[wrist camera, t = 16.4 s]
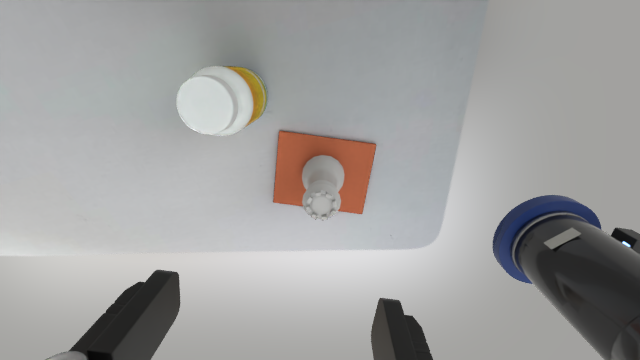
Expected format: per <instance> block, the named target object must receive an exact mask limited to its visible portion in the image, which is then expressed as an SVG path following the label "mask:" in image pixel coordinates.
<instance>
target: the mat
mask: <svg viewBox="0 0 640 360" xmlns="http://www.w3.org/2000/svg"><path fill="white" fill-rule="evenodd" d="M375 149H376V144H373V143H365V142H358V141H351V140H344V139H336V138H329V137H322V136H314V135H307V134H300V133H293V132H285V131H279V140H278V152H277V164H276V176H275V188H274V200H273V202H275V203H282V204H290V205H297V206H303V203H302V200H303V195H304V193H305V192H306V189H305V187H304V185H303V181H302V173H303V168H304V166H305V165H306V163H307V161H309V160H310V159H312V158H313V157H316V156H320V155H326V156H331V157H333V158H334V159H336V160H338V161H339V163H340V164H341V165H342V167H343V170H344V182H343V186H342V187H341V189H340V190H339V192H338V193H339V194H340V199H341V205H340V209H339V210H338V211H342V212H350V213H357V214H362V212H363V207H364V203H365V198H366V193H367V188H368V183H369V178H370V173H371V168H372V163H373V159H374V154H375Z"/></svg>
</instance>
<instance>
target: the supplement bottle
mask: <svg viewBox="0 0 640 360" xmlns="http://www.w3.org/2000/svg"><path fill="white" fill-rule="evenodd" d="M267 100H268V94H267V89H266V86H265V84H264V82H263V80H262V79H261V78H260V77H259V76H258V75H257V74H256V73H255V72H253V71H251V70H249V69H247V68H243V67H231V66H209V67H205V68H202V69H200V70H198V71H197V72H196V73H194V74H193V75H192V76H191V78H190V79H188V80H186V81H185V82H184V83H183V84H182V85H181V87H180V88H179V90H178V93H177V97H176V106H177V110H178V113H179V115H180V117H181V119H182V120H183V122H184V123H185V124H186V125H187V126H188V127H189V128H191V129H192V130H194V131H196V132H198V133H201V134H206V135H215V136H229V135H233V134H235V133H237V132H239V131H241V130H242V129H243V128H245V127H246V126H248V125H249V124H251V123H252V122H254V121H255V120H257V119H258V118H259V117H260V116H261V115H262V114H263V112H264V111H265V108H266V105H267Z"/></svg>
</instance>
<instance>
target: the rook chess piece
mask: <svg viewBox="0 0 640 360" xmlns="http://www.w3.org/2000/svg"><path fill="white" fill-rule="evenodd" d="M302 181H303V185H304V187H305V189H306V192H305V193H304V195H303V200H302V203H303V207H304V209H305V211H306V212H307V213H308V214H309V215H310V216H311V217H312V218H314V219H316V218H318V219H322V220H327V219H328V218H330V217H331V216H333V215H335V214H336V213H337V211H338V210H339V209H340V205H341V199H340V194H339V193H338V192H339V190H340V189H341V187H342V186H343V182H344V170H343V167H342V165H341V164H340V163H339V161H338V160H336V159H334V158H333V157H331V156H326V155H320V156H316V157H313V158H312V159H310V160H309V161H307V163H306V165H305V166H304V168H303V173H302Z"/></svg>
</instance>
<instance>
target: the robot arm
mask: <svg viewBox="0 0 640 360" xmlns="http://www.w3.org/2000/svg"><path fill="white" fill-rule="evenodd" d="M510 256H511V260H512V262H513V264H514V265H515V266H516V268H517V269H518V270H519V271H520V272H521V273H523V274H524V275H525V276H526V277H527V278H528V279H529V280H530V281H531V282H532V283H533V284H534V285H535V287H536V288H537V289H538V290H539V291H540V292H541V293H542V294H543V295H544V296H545V297H546V298H547V299H548V300H549V301H550V303H551V304H552V305H553V306H554V307H555V308H556V309H557V310H558V311H559V312H560V313H561V314H562V315H563V316H564V317H565V319H566V320H567V321H568V322H569V323H570V324H571V325H572V326H573V327H574V328H575V329H576V330H577V331H578V332H579V333H580V334H581V335H582V337H583V338H584V339H585V340H586V341H587V342H588V343H589V344H590V345H591V346H592V347H593V348H594V349H595V350H596V351H597V352H598V353H599V354H600V356H601V357H602V358H603V359H604V360H640V234H638V233H637V232H635V231H633V230H628V229H622V228H615V229H614V231H613V233H612V235H611V236H610V235H609V234H607V233H606V232H604V231H602V230H601V229H599V228H597V227H596V226H594V225H592V224H591V223H589V222H588V221H587V220H585V219H584V218H582V217H581V216H579V215H577V214H575V213H572V212H568V211H552V212H547V213H544V214H541V215H538V216H536V217H534V218H532V219H531V220H529V221H528V222H526V223H525V224H524V225H523V226H522V227H521V228H520V229H519V230H518V231H517V233H516V234H515V236H514V238H513V240H512V242H511V246H510ZM179 308H180V289H179V275H178V273H177V272H172V271H164V270H156V271H155V272H154V273H153V274H152V275H151V276H150V277H149V278H148V280H147V281H146V282H138V283H136V284H135V285H133V286H131V287H130V288H128V289H127V290H125V291H124V292H123V293H122V294H121V295H120V296H119V297H118V298H117V300H116V301H115V303H114V304H112V305H111V306H110V307H109V308H108V309H107V310H106V313H104V314H103V315H102V316H101V317H100V318H99V319H98V320H97V321H96V322H95V324H93V326H92V327H91V328H90V329H89V330H88V331H87V332H86V333H85V334H84V335H83V336H82V338H81V339H80V340H79V341H78V342H77V343H76V344H75V345H74V346H73V347H72V348H71V349H70V350H69V351H68V352H63V353H59V354H56V355H54V356H52V357H50V358H48V359H46V360H151V358H152V356H153V355H154V353H155V351H156V350H157V348H158V347H159V345H160V344H161V342H162V340H163V339H164V337H165V335H166V333H167V332H168V330H169V329H170V327H171V326H172V324H173V322H174V321H175V319H176V317H177V315H178V312H179ZM371 342H372V350H373V356H374V360H433V358H432V356H431V354H430V350H429V347H428V344H427V343H426V339H425V336H424V333H423V330H422V327H421V326H420V325H419V324H418V322H417V321H416V320H415V319H414V317H413V316H408V315H404V313H403V309H402V306H401V303H400V301H399V300H393V299H385V298H380V299H379V302H378V305H377V309H376V313H375V317H374V321H373V325H372V331H371Z"/></svg>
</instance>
